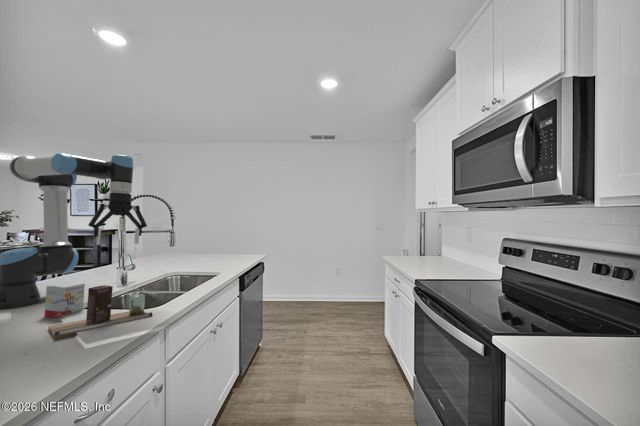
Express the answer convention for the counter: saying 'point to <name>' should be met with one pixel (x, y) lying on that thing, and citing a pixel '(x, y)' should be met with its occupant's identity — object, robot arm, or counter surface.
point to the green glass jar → (136, 304)
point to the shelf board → (73, 327)
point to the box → (99, 304)
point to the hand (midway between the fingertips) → (118, 244)
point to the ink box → (64, 299)
